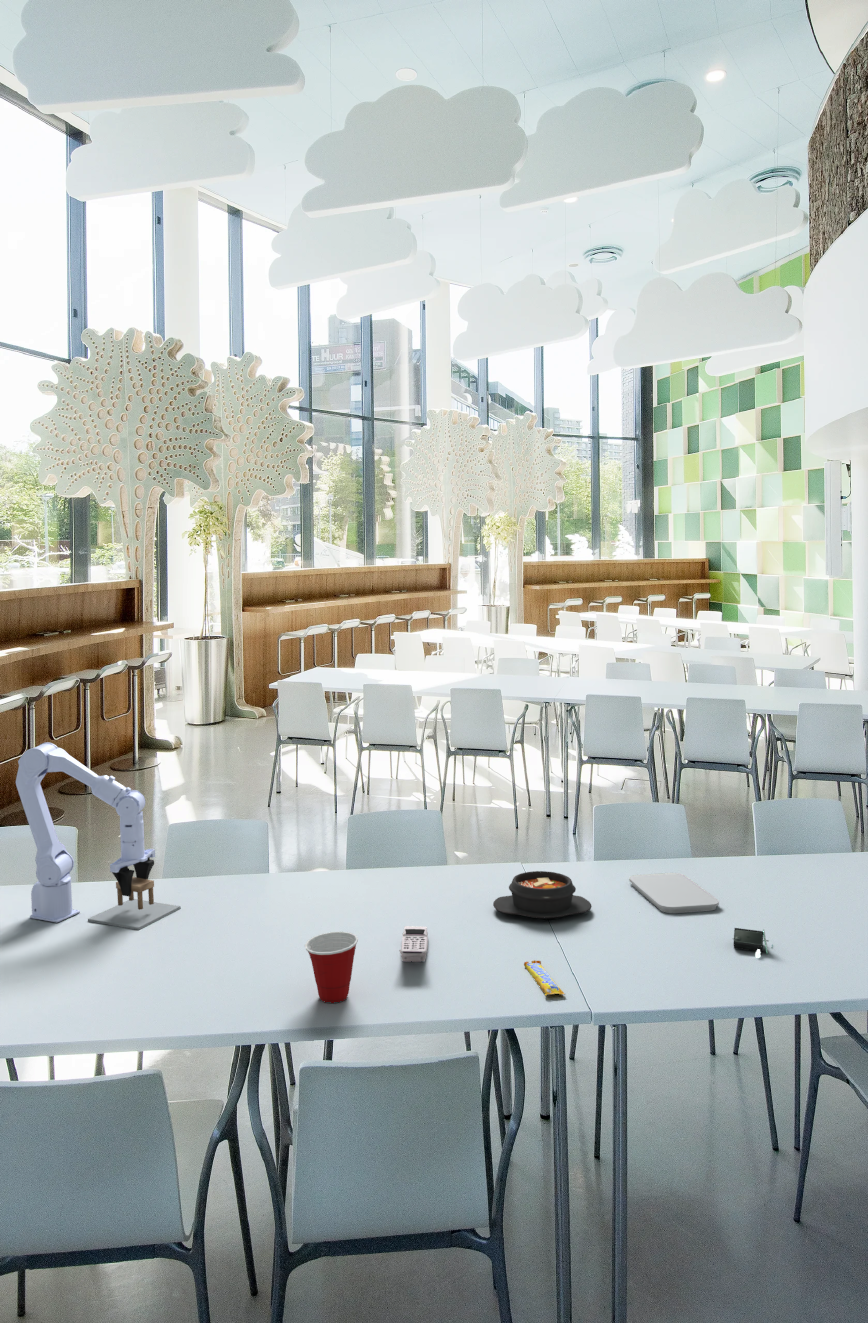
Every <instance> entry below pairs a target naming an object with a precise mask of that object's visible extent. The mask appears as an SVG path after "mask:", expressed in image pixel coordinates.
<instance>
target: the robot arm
mask: <svg viewBox="0 0 868 1323" xmlns="http://www.w3.org/2000/svg"><path fill="white" fill-rule="evenodd" d="M17 762H18V769H17V773H16V779H15V785H16V789H17V791H18V796H19V798H20V801H21V804H22V808H23V811H24V813H25V816H26V820H27V823H28V825H29V829H30V830H31V831H30V832H31V834H32V838H33V840H34V844H35V847H36V855H35V859H34V862H35V865H36V870H35V875H36V876H35V877H36V879H37V881H36V882H35V883H34V884H33V886H32V889H31V893H30V895H31V896H30V899H31V914H30V915H29V919H34V920H35V919H36V920H40V921H46V922H52V923H60V922H63V921H64V920H66V919H69V918H71V917H73V916H75V915H78V914H80V913H81V910H78V909H73V898H72V897H73V896H72V895H73V894H72V893H73V892H72V877H71V871H72V870H74V867H75V860H74V857H73V856H72V855H71V853H69V852H68V850H67V848H66V845H65V844H63V843H62V842H61V841H60V840H59V837H58V834H57V831H56V829H55V825H54V822H53V819H52V815H51V813H50V810H49V807H48V804H47V801H46V800H47V799H46V797H45V795H44V791H43V788H42V785H41V783H42V780H43V779H44V778H45V776H46V774H47V773H57V772H59V773H60V772H62V773H64V774H66V775H68V776H70V777H72V778H74V779H75V780H77V781H79V782H81V783H83V784H84V785H86V786H88V787H90V790H91V794H92V795H93V796H95V797H96V798H98V799H100V800H101V801H102V802H104V803H106V804H107V805H109V806H110V807H112V808H114V809H115V812H116V813H117V815H118V816H119V834H120V835H119V837H120V838H119V839H120V857H119V858H118V859H116V860H115V861H114V862H112V863H110V864H109V872H110V873H111V874H112V875H113V876H114V877H115V879H116V882H118V883H119V886H120V888H121V892H122V895H123V897H129V896H131V885H132V877H134V874H135V876H136V877H137V878H143V879H148V880H149V876H150V874H151V871H152V869H153V867H154V865H155V860H154V859H153V858H155V857H156V849H155V848H147V849H145V828H144V827H145V826H144V825H145V824H144V811H143V809H144V808H145V806H146V798H145V796H144V794H143V793H141V791H140V790H137V789H132V788H131V787H129V786H127V787H126V786H125V785H123V784H122V783H120V782H118V781H117V780H116V777H114V776H113V775H110V776H109V775H107V774H105V775H98V774H97V773H96V772H94V771H93V770H91V769H90V768H88V767H87V766H85V765H84V764H83V763H81V762H80V761H79V760H77V759H76V758H74V757H73V756H71V755H70V754H69V753H68V752H67V751H66V750H65V749H63V748H61V747H58V746H57V745H56V744H54V743H52V742H48V741H47V742H46V741H45V742H43V743H40V744H39V745H38V746H34V747H32V748H30V749H27V750H26V751H24V752H23V754H22V755H21V757H20V758H19V759H18V761H17ZM150 858H151V859H150ZM130 866H133V867H134V868H133V869H134V870H133V869H130Z"/></svg>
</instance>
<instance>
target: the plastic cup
mask: <svg viewBox="0 0 868 1323" xmlns="http://www.w3.org/2000/svg"><path fill="white" fill-rule="evenodd" d="M358 941H359V937H358V936H357V934H354V933H352V932H348V931H347V932H346V931H330V932H325V933H321V934H318V935H315V936H313V937H311V938H310V939H308V940H307V941H306V942H305V944H304V947H305V950H306V952H307V953H308V955H309V958H310V961H311V965H312V966H311V967H312V970H313V971H312V972H313V974H314V980H315V984H316V988H317V993H318V994H317V995H318V997H319V1000H320V999H321V1000H322V1002H323V1001H325V1002H324V1003H326V1002H331V1003H330V1004H335V1003H334V1002H339V1003H341V1002H340V1001H342V1002H344V1001H345V1000H347V999H346V998H348V997H347V996H349V993H350V987H351V986H350V985H351V981H352V976H353V975H352V974H353V973H352V972H353V968H354V965H353V964H354V958H355V953H356V948H357V944H358ZM344 999H345V1000H344ZM321 1000H320V1001H321Z"/></svg>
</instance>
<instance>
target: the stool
mask: <svg viewBox="0 0 868 1323" xmlns="http://www.w3.org/2000/svg"><path fill="white" fill-rule="evenodd" d="M154 888H155V880H153V879H149V878H148V879H143V878H137V877H135V876H133V877H132V885H131V896H128V900H129V901H132V900H134V899H135V898H134V893H137V894H136V895H137V896H136V897H137V900H138V909H139V910H140V909H143V900H144V898H143V892H145V891H147V890H148V892H147V894H148V901H149V904H150V905H152V904H154V902H155V901H154V900H155V897H154ZM115 889H117V890H116V891H117V892H116V893H117V905H119V906H120V905H123V902H124V900H123V898H124V896H123V895H122V892H121V888H120V886H119V883H118V881H116V882H115Z"/></svg>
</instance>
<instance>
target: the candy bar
mask: <svg viewBox="0 0 868 1323" xmlns="http://www.w3.org/2000/svg"><path fill="white" fill-rule="evenodd" d="M523 966H524V968H525V969H526V970H527V971H528V973H529V975H530V976H531V975H532V976H531V977H532V978H534V979H535V980H534V979H533V980H534V981H535V983H536V982H537V983H536V984H537V986H538V985H539V986H540V987H539V986H538V987H539V988H540V990H541V989H542V990H541V991H542V992H543V994H544V993H545V994H544V996H547V995H548V996H551V995H555V994H559V995H561V996H562V995H565V993H564V991H563V990H562V988H560V986H559V985H558V984H557V983H556V982H555V981H554V979H553V978H552V977H551V975H550V974H549V973H548V971H546V969H545V968H544V967H543V965H542V961H541V960H535V959H534V960H531V962H530V961H524V963H523Z"/></svg>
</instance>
